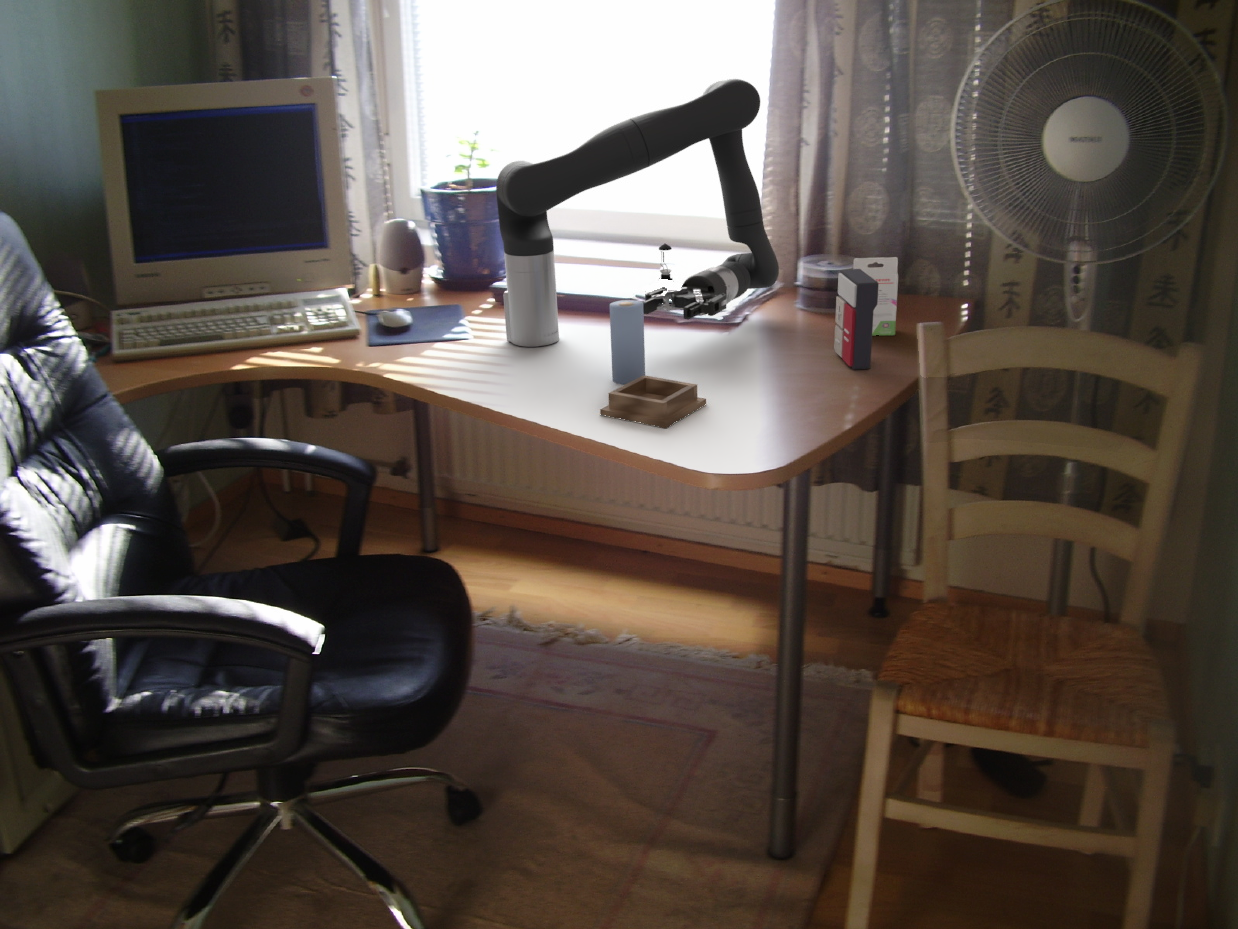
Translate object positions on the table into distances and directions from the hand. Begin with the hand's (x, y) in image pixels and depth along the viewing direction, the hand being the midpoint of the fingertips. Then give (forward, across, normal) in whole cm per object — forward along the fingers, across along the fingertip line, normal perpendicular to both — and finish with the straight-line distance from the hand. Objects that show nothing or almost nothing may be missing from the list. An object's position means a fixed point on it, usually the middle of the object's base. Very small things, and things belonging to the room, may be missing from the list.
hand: (664, 311), depth 189 cm
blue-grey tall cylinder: (+12, 0, +9) cm, 15 cm away
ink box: (-34, +25, +10) cm, 43 cm away
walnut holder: (+22, +12, +9) cm, 27 cm away
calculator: (-16, +29, +10) cm, 34 cm away
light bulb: (-38, -23, +10) cm, 45 cm away
